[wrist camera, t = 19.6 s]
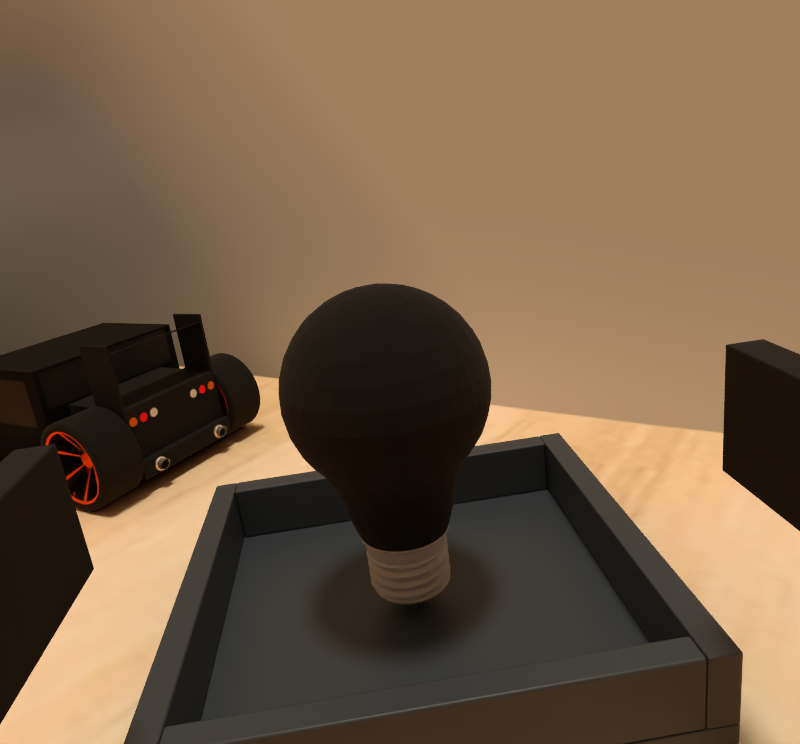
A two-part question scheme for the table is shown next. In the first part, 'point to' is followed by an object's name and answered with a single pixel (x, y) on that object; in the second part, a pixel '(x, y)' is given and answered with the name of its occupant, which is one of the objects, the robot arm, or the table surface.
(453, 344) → the light bulb
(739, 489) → the table surface
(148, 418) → the toy truck
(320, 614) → the slate tray
